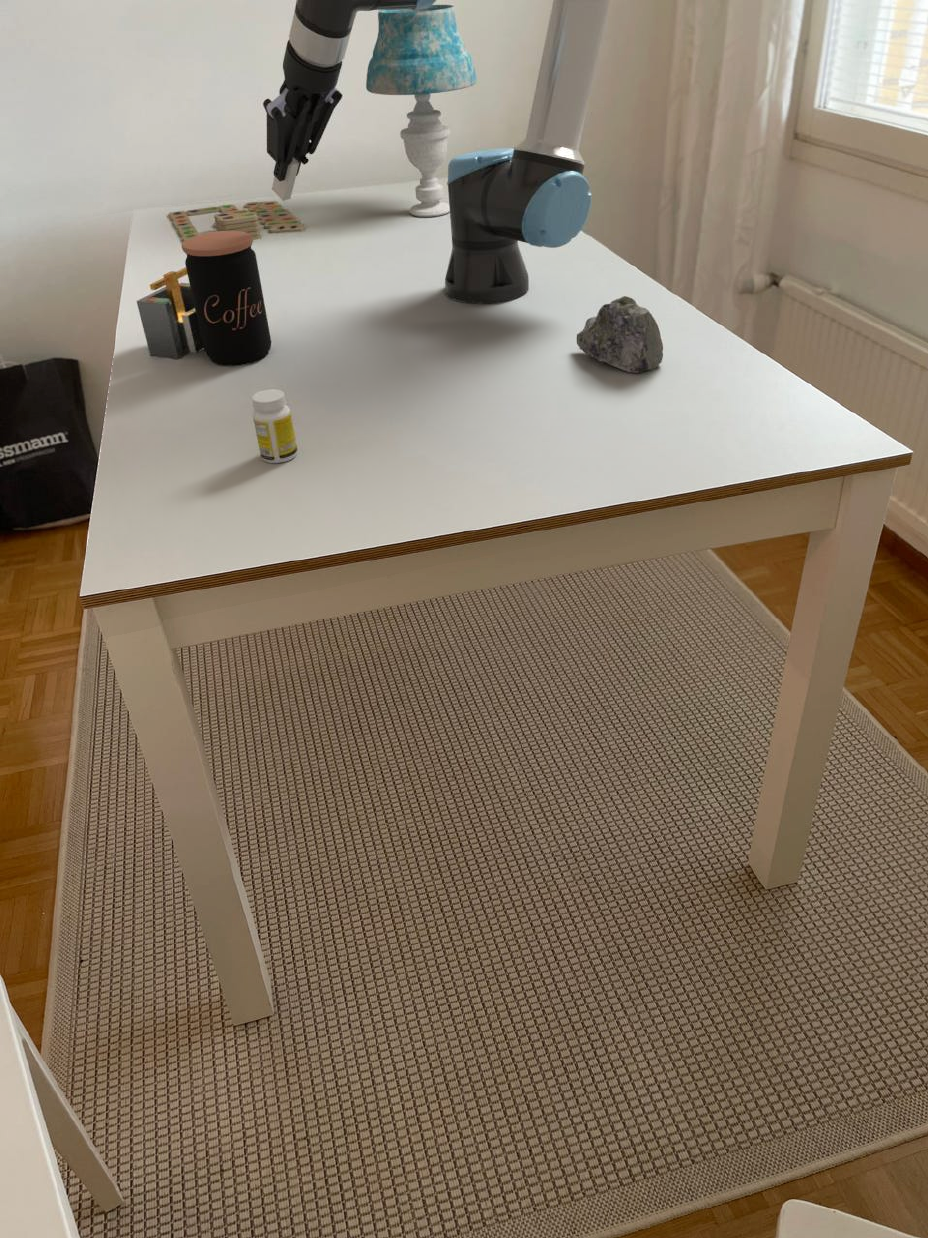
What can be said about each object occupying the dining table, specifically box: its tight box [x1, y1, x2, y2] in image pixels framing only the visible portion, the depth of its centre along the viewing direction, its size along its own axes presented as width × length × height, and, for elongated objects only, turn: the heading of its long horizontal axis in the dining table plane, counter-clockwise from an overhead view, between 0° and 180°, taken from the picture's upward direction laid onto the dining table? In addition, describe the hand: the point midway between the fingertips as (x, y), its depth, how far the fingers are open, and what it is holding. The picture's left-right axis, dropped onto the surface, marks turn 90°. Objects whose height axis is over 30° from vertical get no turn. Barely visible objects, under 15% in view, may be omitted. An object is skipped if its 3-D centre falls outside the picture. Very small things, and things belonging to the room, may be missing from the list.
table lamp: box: [365, 4, 478, 218], centre depth 214 cm, size 24×24×40 cm
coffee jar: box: [181, 230, 272, 367], centre depth 153 cm, size 11×11×18 cm
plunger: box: [149, 266, 204, 353], centre depth 157 cm, size 6×9×11 cm, turn 156°
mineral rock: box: [576, 295, 664, 374], centre depth 145 cm, size 13×11×10 cm
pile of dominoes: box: [168, 200, 307, 243], centre depth 227 cm, size 35×27×6 cm
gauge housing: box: [136, 282, 195, 360], centre depth 160 cm, size 6×9×9 cm, turn 156°
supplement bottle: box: [252, 388, 298, 464], centre depth 125 cm, size 5×5×8 cm
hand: (281, 193), depth 150 cm, fingers closed
